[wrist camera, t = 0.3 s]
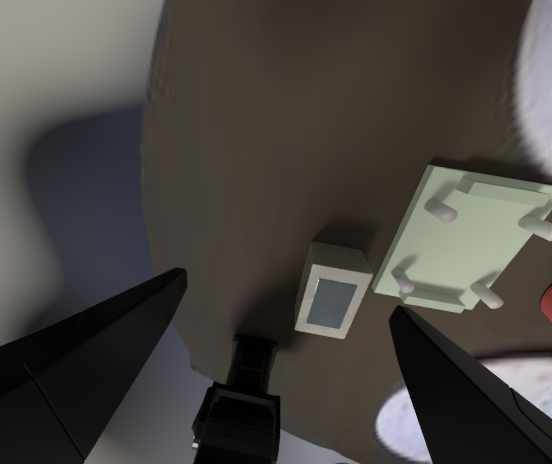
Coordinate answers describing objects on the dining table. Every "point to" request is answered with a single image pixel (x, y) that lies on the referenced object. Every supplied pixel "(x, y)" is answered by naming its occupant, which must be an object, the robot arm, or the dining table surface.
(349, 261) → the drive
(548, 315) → the flower pot
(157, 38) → the dining table surface
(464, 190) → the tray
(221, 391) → the robot arm
